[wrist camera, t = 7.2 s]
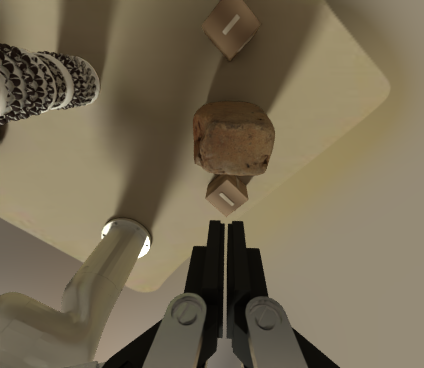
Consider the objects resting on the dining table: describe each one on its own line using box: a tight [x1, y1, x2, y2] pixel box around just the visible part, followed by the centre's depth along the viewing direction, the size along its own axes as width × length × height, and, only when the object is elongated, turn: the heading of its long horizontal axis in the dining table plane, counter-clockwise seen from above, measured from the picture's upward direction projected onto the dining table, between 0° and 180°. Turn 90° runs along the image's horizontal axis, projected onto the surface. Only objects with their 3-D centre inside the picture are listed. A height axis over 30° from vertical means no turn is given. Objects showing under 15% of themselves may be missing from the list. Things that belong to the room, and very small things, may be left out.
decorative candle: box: [0, 43, 100, 125], centre depth 30 cm, size 9×9×25 cm
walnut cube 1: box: [205, 174, 248, 217], centre depth 46 cm, size 6×6×6 cm
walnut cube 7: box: [201, 0, 261, 62], centre depth 34 cm, size 6×6×6 cm
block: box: [193, 101, 275, 176], centre depth 33 cm, size 11×8×20 cm
